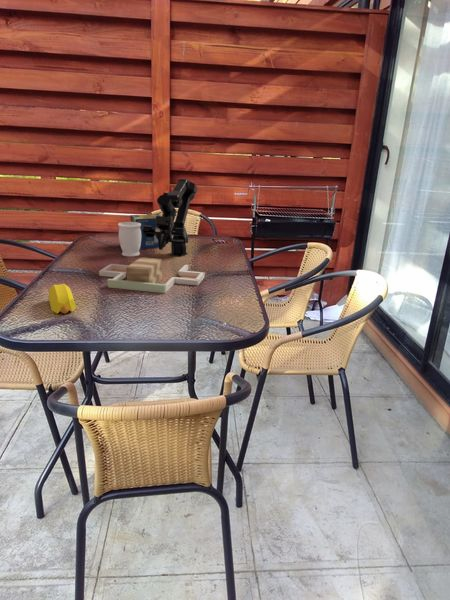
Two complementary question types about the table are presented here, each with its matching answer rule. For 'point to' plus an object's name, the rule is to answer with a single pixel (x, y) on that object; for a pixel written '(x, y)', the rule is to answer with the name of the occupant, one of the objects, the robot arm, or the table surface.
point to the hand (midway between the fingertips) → (160, 249)
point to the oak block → (145, 270)
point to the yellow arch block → (61, 299)
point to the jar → (130, 238)
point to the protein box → (148, 221)
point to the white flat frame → (120, 274)
